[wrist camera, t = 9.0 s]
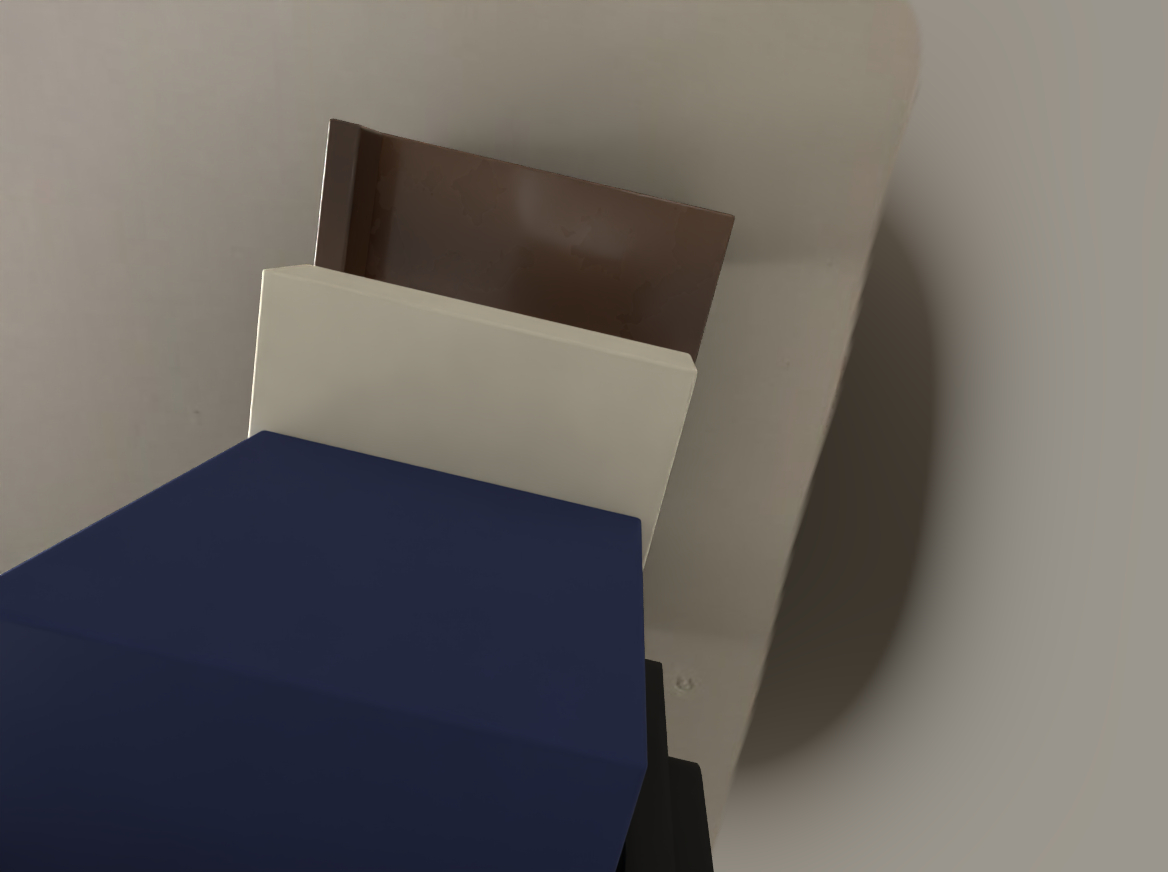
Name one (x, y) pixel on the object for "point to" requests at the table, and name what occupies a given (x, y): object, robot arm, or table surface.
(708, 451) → the table surface
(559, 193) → the shelf
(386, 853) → the navy stepped block
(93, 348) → the table surface
